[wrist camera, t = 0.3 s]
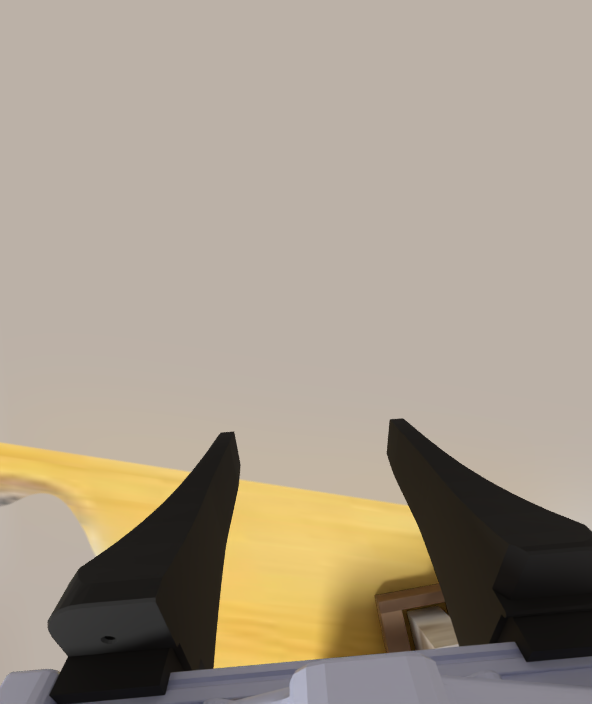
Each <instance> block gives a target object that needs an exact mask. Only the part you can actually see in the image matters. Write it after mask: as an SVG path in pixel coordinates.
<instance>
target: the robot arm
mask: <svg viewBox="0 0 592 704" xmlns="http://www.w3.org/2000/svg"><path fill="white" fill-rule="evenodd" d="M387 456H388V459H389V462H390V465H391V468H392V471H393V474H394V476H395V478H396V480H397V483H398V485H399V487H400V489H401V491H402V493H403V495H404V497H405V499H406V501H407V503H408V506H409V508H410V510H411V512H412V514H413V516H414V518H415V520H416V522H417V525H418V527H419V529H420V532H421V534H422V537H423V540H424V542H425V545H426V548H427V550H428V553H429V556H430V559H431V562H432V564H433V567H434V570H435V573H436V576H437V579H438V582H439V585H440V588H441V591H442V594H443V597H444V600H445V603H446V606H447V609H448V612H449V615H450V618H451V622H452V625H453V628H454V632H455V635H456V638H457V641H458V645H459V647H449V648H438V649H427V650H416V651H405V652H394V653H383V654H372V655H361V656H349V657H338V658H327V659H316V660H305V661H294V662H283V663H272V664H261V665H250V666H239V667H227V668H216V669H213V667H214V655H215V643H216V631H217V621H218V610H219V600H220V591H221V582H222V573H223V565H224V557H225V549H226V543H227V538H228V533H229V528H230V524H231V519H232V515H233V510H234V505H235V501H236V496H237V491H238V486H239V476H240V460H239V455H238V449H237V444H236V439H235V434H234V432H224V433H220V434H219V436H218V437H217V438H216V440H215V441H214V443H213V444H212V445H211V447H210V448H209V450H208V451H207V453H206V454H205V455H204V457H203V458H202V459H201V460H200V462H199V463H198V464H197V466H196V467H195V468H194V469H193V471H192V472H191V473H190V474H189V475H188V476H187V478H186V479H185V480H184V481H183V482H182V484H181V485H180V486H179V487H178V488H177V489H176V490H175V491H174V492H173V493H172V494H171V495H170V496H169V497H168V498H167V500H166V501H165V502H164V503H163V504H161V505H160V506H159V507H158V508H157V509H156V510H155V511H154V512H153V513H152V514H150V515H149V516H148V517H147V518H146V519H145V520H144V521H143V522H141V523H140V524H139V525H138V526H137V527H135V528H134V529H133V530H132V531H130V532H129V533H128V534H127V535H125V536H124V537H123V538H121V539H120V540H119V541H118V542H116V543H115V544H114V545H112V546H111V547H109V548H108V549H107V550H105V551H104V552H102V553H101V554H99V555H98V556H96V557H95V558H94V559H92V560H91V561H89V562H88V563H86V564H85V565H84V566H82V567H80V568H79V569H78V571H77V573H76V574H75V576H74V577H73V579H72V580H71V582H70V583H69V585H68V587H67V589H66V590H65V592H64V594H63V596H62V597H61V599H60V601H59V603H58V604H57V606H56V608H55V610H54V611H53V613H52V615H51V616H50V618H49V620H48V630H49V632H50V634H51V636H52V638H53V639H54V640H55V641H56V642H57V644H58V645H59V646H60V647H61V648H62V650H63V651H64V652H65V653H66V654H67V656H68V658H67V660H66V662H65V664H64V666H63V668H62V670H61V672H59V671H57V670H53V669H41V670H30V671H19V672H11V673H10V674H8V675H7V676H6V678H5V679H4V681H3V682H2V685H1V686H0V704H592V531H591V530H589V528H588V527H587V526H585V525H584V524H581V523H579V522H576V521H574V520H571V519H569V518H566V517H564V516H561V515H558V514H556V513H554V512H551V511H549V510H546V509H544V508H542V507H540V506H538V505H535V504H533V503H531V502H529V501H527V500H525V499H522V498H520V497H518V496H516V495H514V494H512V493H510V492H509V491H507V490H505V489H503V488H501V487H499V486H497V485H495V484H494V483H492V482H490V481H488V480H486V479H485V478H483V477H481V476H480V475H478V474H477V473H475V472H473V471H472V470H470V469H468V468H467V467H465V466H464V465H462V464H461V463H459V462H458V461H457V460H455V459H454V458H452V457H451V456H449V455H448V454H447V453H445V452H444V451H443V450H441V449H440V448H439V447H437V446H436V445H435V444H434V443H432V442H431V441H430V440H428V439H427V438H426V437H425V436H423V435H422V434H421V433H420V432H418V431H417V430H416V429H415V428H414V427H413V426H412V425H410V424H409V423H408V422H407V421H405V420H404V419H391V420H390V423H389V434H388V445H387Z"/></svg>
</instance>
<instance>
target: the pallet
mask: <svg viewBox="0 0 592 704" xmlns="http://www.w3.org/2000/svg"><path fill="white" fill-rule="evenodd" d="M375 600H376V605H377V610H378V615H379V619H380V624H381V629H382V634H383V639H384V644H385V649H386V653H394V652H405V651H411V648H410V644H409V639H408V635H407V631H406V626H405V622H404V617H403V613H402V610H404V609H410V608H415V607H420V606H426V605H431V604H436V603H442V602H445V600H444V597H443V594H442V591H441V588H440V585H439V584H434V585H429V586H423V587H418V588H412V589H407V590H402V591H396V592H391V593H385V594H380V595H375ZM447 610H448V609H447ZM448 614H449V612H448ZM407 615H408V619H409V624H410V628H411V632H412V636H413V641H414V645H415V649H416V650H427V649H438V648H449V647H459V645H458V641H457V638H456V635H455V632H454V628H453V625H452V622H451V618H450V615H449V616H448V615H447V614H446V613H445V612H444V611H443V610H442V609H441V608H440V607H439V606H433V607H428V608H422V609H417V610H412V611H407Z"/></svg>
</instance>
